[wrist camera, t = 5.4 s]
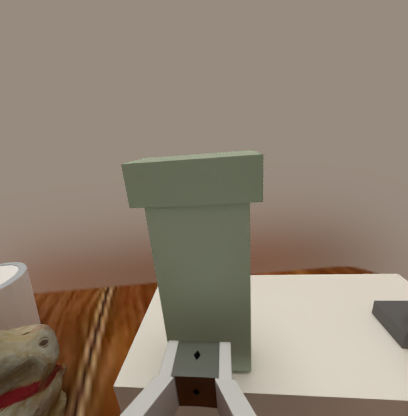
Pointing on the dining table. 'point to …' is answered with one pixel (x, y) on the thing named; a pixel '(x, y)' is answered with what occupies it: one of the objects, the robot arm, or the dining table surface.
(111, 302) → the dining table surface
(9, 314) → the white tapered cup
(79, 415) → the dining table surface
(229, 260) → the capped sage pillar
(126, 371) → the control bank
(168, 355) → the robot arm
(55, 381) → the chocolate bunny
